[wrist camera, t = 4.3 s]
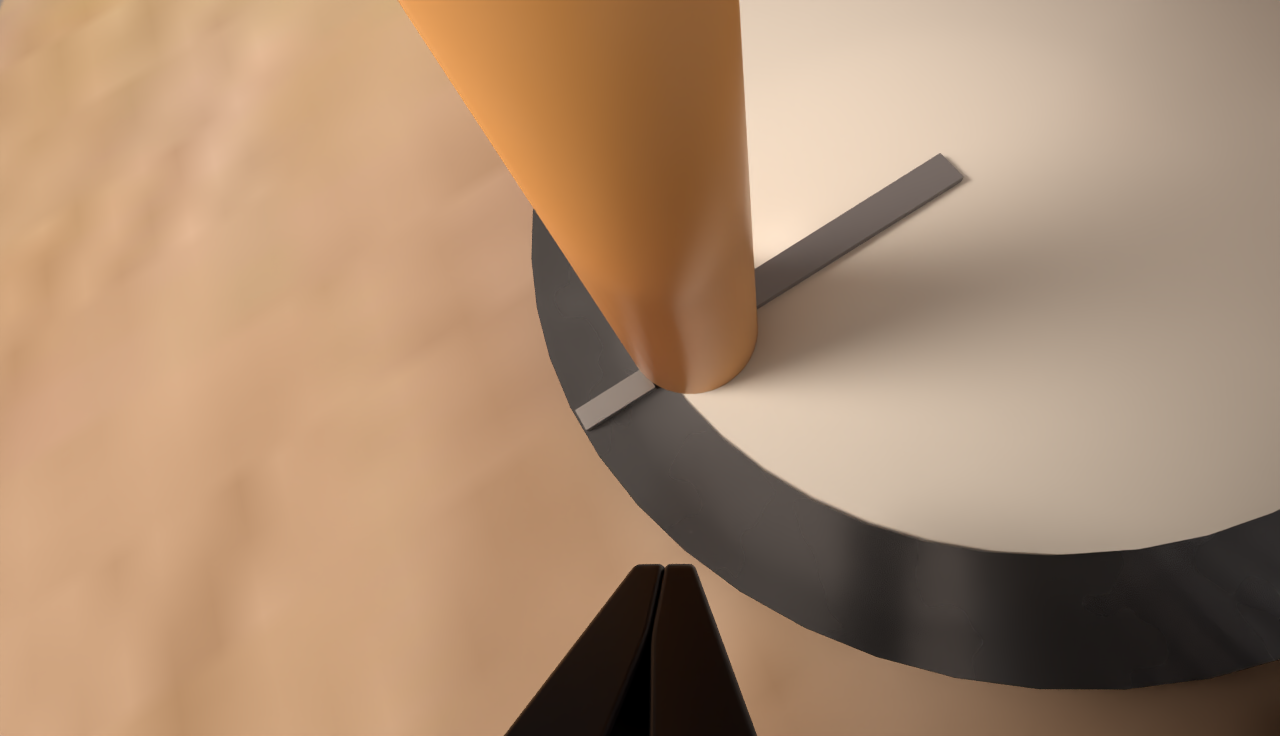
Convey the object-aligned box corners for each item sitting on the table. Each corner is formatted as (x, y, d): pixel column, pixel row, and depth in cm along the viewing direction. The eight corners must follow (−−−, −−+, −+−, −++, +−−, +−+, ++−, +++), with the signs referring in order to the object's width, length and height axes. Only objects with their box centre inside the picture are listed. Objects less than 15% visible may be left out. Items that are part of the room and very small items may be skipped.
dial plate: (1816, 437, 12) (1974, 416, 11) (723, 832, 14) (716, 866, 12) (1110, -212, 20) (1140, -280, 19) (468, 83, 22) (443, 45, 20)
